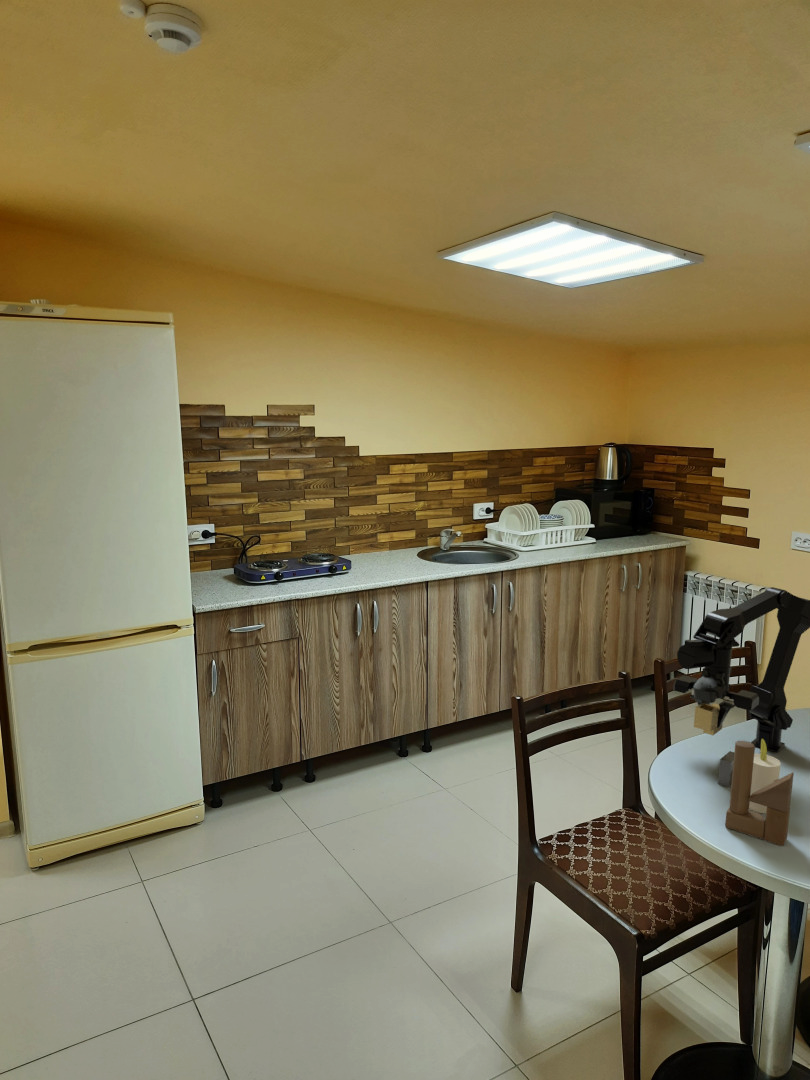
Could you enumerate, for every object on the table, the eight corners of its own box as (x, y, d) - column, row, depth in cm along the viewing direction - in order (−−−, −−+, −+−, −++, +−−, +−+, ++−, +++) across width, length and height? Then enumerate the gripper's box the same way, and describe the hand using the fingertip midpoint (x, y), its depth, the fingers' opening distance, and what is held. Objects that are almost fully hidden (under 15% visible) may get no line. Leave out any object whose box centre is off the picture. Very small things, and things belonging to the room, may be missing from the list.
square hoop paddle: (709, 724, 181) (711, 696, 179) (725, 729, 178) (727, 700, 177) (692, 736, 173) (695, 707, 172) (709, 741, 171) (712, 711, 170)
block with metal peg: (731, 767, 172) (733, 738, 171) (748, 773, 169) (751, 743, 168) (714, 782, 164) (717, 751, 163) (732, 788, 162) (735, 757, 161)
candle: (765, 816, 150) (771, 749, 148) (737, 802, 156) (743, 737, 153) (783, 809, 153) (789, 743, 151) (754, 795, 159) (761, 731, 157)
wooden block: (783, 847, 139) (792, 760, 136) (724, 827, 146) (732, 744, 143) (787, 839, 142) (796, 753, 139) (729, 820, 148) (737, 738, 146)
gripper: (666, 662, 175) (661, 723, 177) (746, 682, 162) (739, 747, 164) (684, 653, 183) (680, 711, 185) (762, 670, 170) (756, 733, 172)
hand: (712, 725), depth 177 cm, fingers closed on square hoop paddle, 3 cm apart
